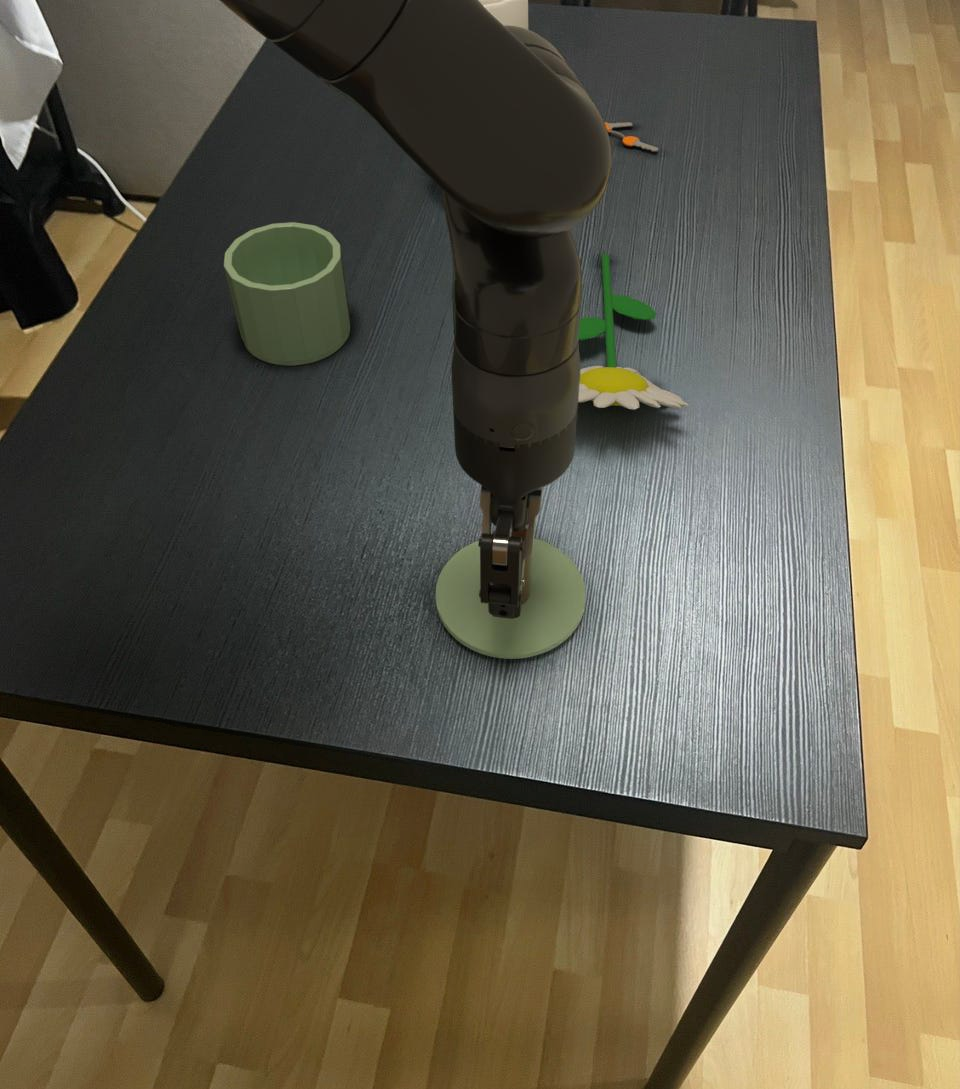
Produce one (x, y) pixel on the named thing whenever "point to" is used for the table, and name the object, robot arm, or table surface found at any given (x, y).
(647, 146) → the key chain
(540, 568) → the lid
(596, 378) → the decorative flower
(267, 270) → the tin
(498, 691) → the table surface
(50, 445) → the table surface
